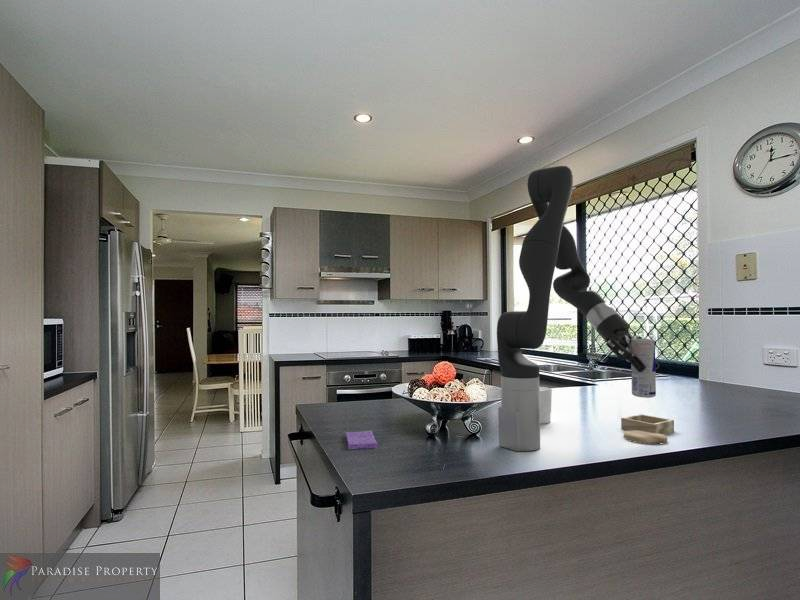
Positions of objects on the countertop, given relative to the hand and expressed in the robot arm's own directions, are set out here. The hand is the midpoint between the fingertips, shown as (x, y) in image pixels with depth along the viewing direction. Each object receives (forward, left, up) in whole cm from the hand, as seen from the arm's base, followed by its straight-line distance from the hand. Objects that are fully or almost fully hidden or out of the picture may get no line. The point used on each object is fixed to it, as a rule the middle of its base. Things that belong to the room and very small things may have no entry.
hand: (649, 369), depth 121 cm
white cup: (-7, +31, -19) cm, 37 cm away
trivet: (0, +2, -18) cm, 18 cm away
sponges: (-63, +40, -19) cm, 77 cm away
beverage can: (0, +2, -7) cm, 8 cm away
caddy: (+10, +7, -18) cm, 22 cm away
